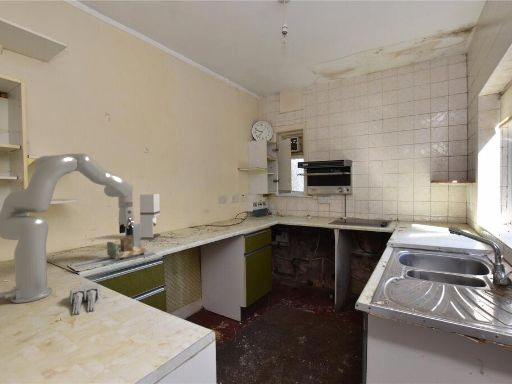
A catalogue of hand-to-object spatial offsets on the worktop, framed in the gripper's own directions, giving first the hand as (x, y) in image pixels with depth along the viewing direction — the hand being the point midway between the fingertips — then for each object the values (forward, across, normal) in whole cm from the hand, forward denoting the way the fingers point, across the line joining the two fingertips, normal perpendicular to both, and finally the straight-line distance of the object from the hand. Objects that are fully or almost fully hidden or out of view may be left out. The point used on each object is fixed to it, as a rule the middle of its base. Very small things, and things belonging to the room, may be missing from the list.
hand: (125, 234), depth 157 cm
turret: (+16, -48, +36) cm, 62 cm away
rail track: (+14, 0, +6) cm, 15 cm away
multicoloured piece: (+14, 0, -2) cm, 14 cm away
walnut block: (+10, 0, -1) cm, 10 cm away
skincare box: (+14, +22, -15) cm, 30 cm away
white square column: (+13, +38, -36) cm, 54 cm away
